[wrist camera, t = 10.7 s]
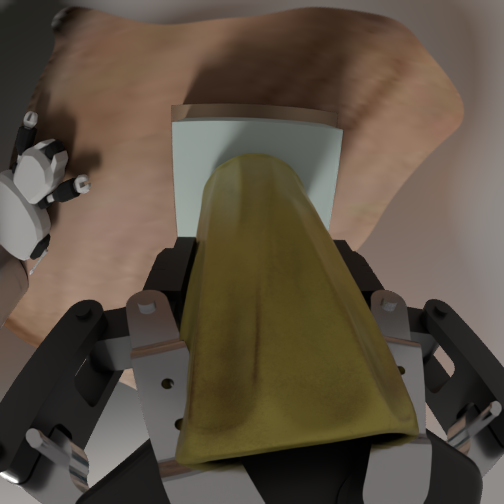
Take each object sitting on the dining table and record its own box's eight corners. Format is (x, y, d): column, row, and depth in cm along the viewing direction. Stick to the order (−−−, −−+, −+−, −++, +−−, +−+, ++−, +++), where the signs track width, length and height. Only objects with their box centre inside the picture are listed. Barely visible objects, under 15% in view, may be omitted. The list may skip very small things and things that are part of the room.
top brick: (189, 241, 23) (181, 268, 19) (184, 117, 18) (172, 122, 14) (308, 243, 23) (320, 270, 20) (324, 123, 18) (343, 130, 15)
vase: (245, 130, 14) (312, 369, 2) (325, 195, 16) (470, 418, 4) (182, 212, 16) (103, 470, 4) (261, 264, 18) (293, 498, 6)
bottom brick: (186, 230, 27) (178, 251, 23) (182, 104, 20) (171, 105, 17) (308, 232, 27) (317, 253, 24) (322, 110, 21) (338, 113, 18)
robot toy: (44, 101, 19) (-10, 196, 22) (20, 103, 15) (-32, 209, 18) (109, 179, 24) (43, 261, 27) (90, 192, 20) (26, 281, 23)
